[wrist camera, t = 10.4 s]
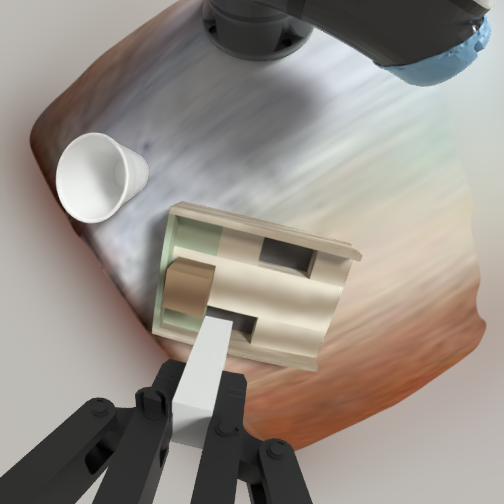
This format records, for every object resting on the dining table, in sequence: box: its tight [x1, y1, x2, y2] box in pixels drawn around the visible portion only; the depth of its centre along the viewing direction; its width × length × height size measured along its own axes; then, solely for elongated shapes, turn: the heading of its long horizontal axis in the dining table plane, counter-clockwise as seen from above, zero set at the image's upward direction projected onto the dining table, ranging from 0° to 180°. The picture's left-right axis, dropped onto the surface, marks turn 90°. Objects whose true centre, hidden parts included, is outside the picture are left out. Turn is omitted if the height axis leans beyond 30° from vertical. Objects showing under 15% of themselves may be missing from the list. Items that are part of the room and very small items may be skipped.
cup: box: [56, 133, 149, 223], centre depth 34 cm, size 10×10×11 cm
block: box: [162, 257, 216, 318], centre depth 37 cm, size 5×5×5 cm
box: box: [152, 201, 362, 372], centre depth 40 cm, size 18×23×6 cm
